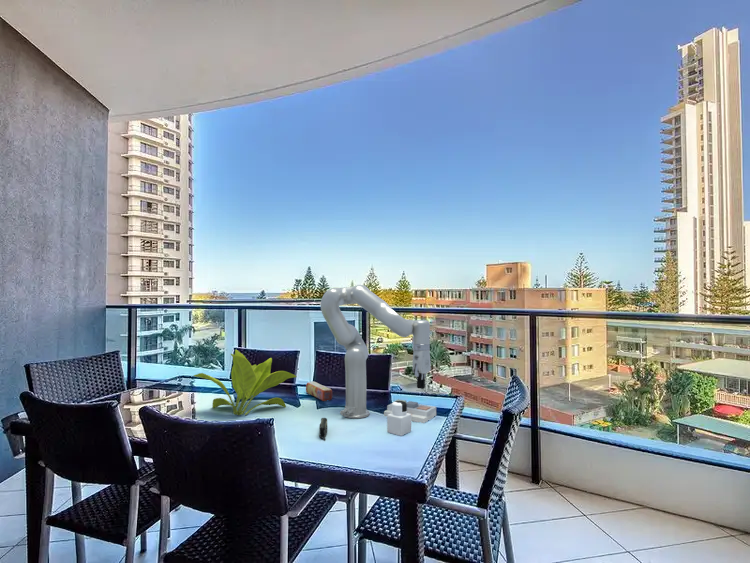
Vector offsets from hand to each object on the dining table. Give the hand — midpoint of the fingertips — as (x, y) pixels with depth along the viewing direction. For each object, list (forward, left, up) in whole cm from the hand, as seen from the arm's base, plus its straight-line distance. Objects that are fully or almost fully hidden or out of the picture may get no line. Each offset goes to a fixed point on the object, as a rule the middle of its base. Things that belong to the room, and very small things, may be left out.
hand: (420, 388), depth 183 cm
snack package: (+4, +62, -13) cm, 64 cm away
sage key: (0, +11, -9) cm, 14 cm away
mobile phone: (-41, +23, -13) cm, 49 cm away
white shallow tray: (-1, +5, -13) cm, 14 cm away
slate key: (0, +5, -9) cm, 11 cm away
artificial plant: (-35, +74, -13) cm, 83 cm away
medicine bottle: (-23, -1, -13) cm, 26 cm away
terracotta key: (0, -1, -11) cm, 11 cm away
